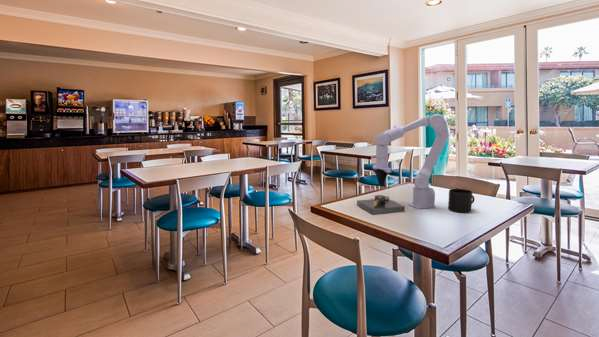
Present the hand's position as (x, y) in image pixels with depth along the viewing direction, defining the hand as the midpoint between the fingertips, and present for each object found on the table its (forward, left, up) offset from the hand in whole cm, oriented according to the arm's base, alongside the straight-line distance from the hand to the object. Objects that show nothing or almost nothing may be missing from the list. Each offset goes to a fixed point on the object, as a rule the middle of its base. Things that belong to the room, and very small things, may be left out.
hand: (381, 184), depth 158 cm
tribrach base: (+5, +8, -9) cm, 13 cm away
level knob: (+7, +10, -7) cm, 14 cm away
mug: (-29, +22, -10) cm, 38 cm away
